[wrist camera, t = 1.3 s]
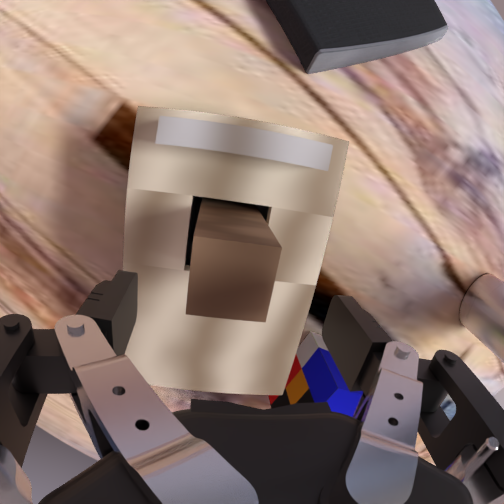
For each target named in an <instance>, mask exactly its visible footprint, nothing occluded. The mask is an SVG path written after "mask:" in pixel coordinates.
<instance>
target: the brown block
mask: <svg viewBox="0 0 504 504" xmlns="http://www.w3.org/2000/svg"><path fill="white" fill-rule="evenodd" d="M281 251H282V247H281V245H280V243H279V242H278V240H277V239H276V237H275V235H274V234H273V232H272V231H271V229H270V227H269V226H268V224H267V223H266V221H265V219H264V218H263V216H262V215H261V213H260V211H259V210H258V208H257V207H256V205H255V204H249V203H242V202H235V201H228V200H221V199H214V198H207V197H203V198H202V202H201V206H200V211H199V215H198V219H197V223H196V228H195V232H194V237H193V245H192V254H191V263H190V272H189V282H188V292H187V303H186V315H195V316H203V317H212V318H222V319H232V320H242V321H254V322H266V318H267V314H268V310H269V305H270V301H271V296H272V292H273V287H274V283H275V278H276V274H277V269H278V265H279V260H280V255H281Z"/></svg>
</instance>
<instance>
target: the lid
mask: <svg viewBox="0 0 504 504" xmlns="http://www.w3.org/2000/svg"><path fill="white" fill-rule="evenodd" d="M348 145H349V141H345V140H342V139H338V138H334V137H330V136H326V135H322V134H318V133H314V132H310V131H306V130H301V129H297V128H292V127H288V126H283V125H278V124H273V123H268V122H262V121H257V120H251V119H246V118H240V117H233V116H227V115H220V114H213V113H205V112H197V111H189V110H180V109H169V108H158V107H144V106H138V110H137V115H136V122H135V128H134V135H133V142H132V149H131V157H130V165H129V174H128V184H127V195H126V208H125V223H124V244H123V271H129V272H136V273H137V274H138V308H137V318H136V323H135V326H134V328H133V331H132V334H131V337H130V340H129V342H128V345H127V348H126V351H125V355H127V356H128V358H129V359H130V360H131V362H132V363H133V364H134V366H135V367H136V368H137V370H138V371H139V372H140V374H141V375H142V376H143V378H144V379H145V380H146V382H147V383H148V384H149V385H153V386H160V387H168V388H176V389H185V390H194V391H205V392H217V393H232V394H252V395H283V392H284V389H285V386H286V383H287V380H288V377H289V374H290V371H291V368H292V364H293V361H294V358H295V355H296V352H297V349H298V345H299V342H300V339H301V336H302V332H303V329H304V326H305V322H306V319H307V316H308V312H309V309H310V305H311V302H312V298H313V294H314V291H315V287H316V284H317V280H318V276H319V272H320V269H321V265H322V261H323V257H324V253H325V249H326V245H327V241H328V237H329V233H330V229H331V225H332V220H333V216H334V212H335V207H336V203H337V198H338V194H339V189H340V185H341V180H342V175H343V170H344V165H345V160H346V155H347V150H348ZM193 196H199V197H207V198H214V199H221V200H228V201H235V202H242V203H249V204H256V205H262V206H269V209H268V214H267V220H266V223H267V224H268V226H269V227H270V229H271V231H272V232H273V234H274V235H275V237H276V239H277V240H278V242H279V243H280V245H281V247H282V251H281V255H280V260H279V265H278V269H277V274H276V278H275V283H274V287H273V292H272V296H271V301H270V305H269V310H268V314H267V318H266V322H254V321H242V320H232V319H222V318H212V317H203V316H195V315H186V303H187V292H188V282H189V272H190V265H185V262H186V252H187V243H188V234H189V226H190V218H191V210H192V202H193Z"/></svg>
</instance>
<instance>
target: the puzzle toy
mask: <svg viewBox="0 0 504 504" xmlns="http://www.w3.org/2000/svg"><path fill="white" fill-rule="evenodd" d="M362 394H363V391H352V392H350V391H349V389H348V387H347V385H346V383H345V381H344V379H343V377H342V375H341V373H340V371H339V370H338V368H337V366H336V364H335V362H334V360H333V358H332V356H331V354H330V352H329V350H328V349H327V347H326V345H325V343H324V341H323V338H322V335H319V334H317V333H314V332H312V331H310V333H309V334H308V335H307V337H306V338H305V339H304V341H303V342H302V343H301V345H300V346H299V347H298V349H297V352H296V355H295V358H294V361H293V364H292V368H291V371H290V374H289V377H288V380H287V383H286V386H285V389H284V392H283V395H269V400H270V404H271V409H272V408H277V407H282V406H286V405H291V404H295V403H316V402H328V404H329V407H330V409H331V411H333V412H338V413H342V414H345V415H348V416H351V417H352V416H353V414H354V412H355V409H356V407H357V404H358V402H359V399H360V397H361V396H362Z"/></svg>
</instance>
